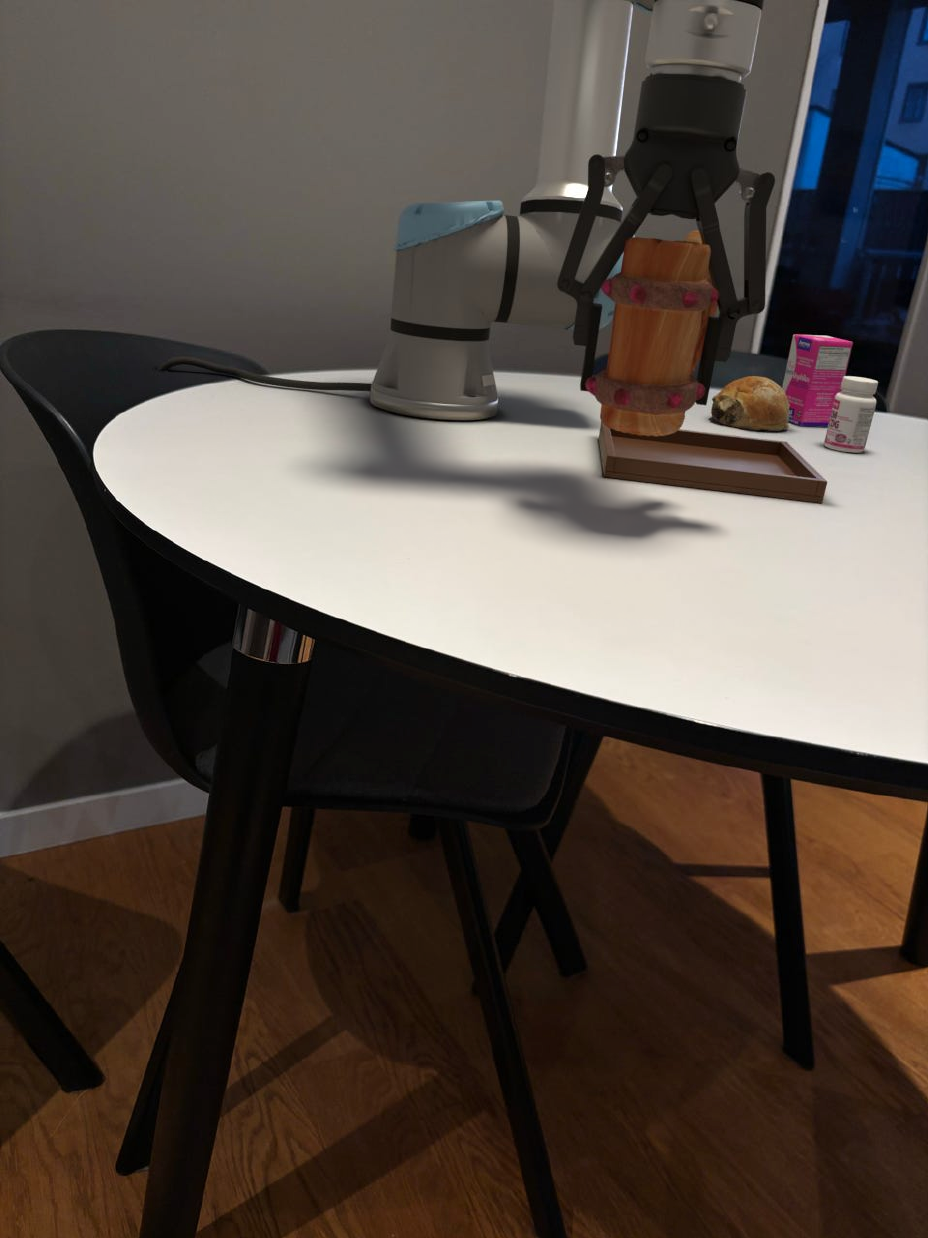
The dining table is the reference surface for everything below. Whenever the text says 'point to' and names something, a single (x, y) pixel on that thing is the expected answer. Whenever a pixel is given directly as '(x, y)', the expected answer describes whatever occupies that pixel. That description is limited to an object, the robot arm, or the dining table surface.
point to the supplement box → (814, 377)
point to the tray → (711, 463)
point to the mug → (655, 335)
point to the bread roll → (752, 405)
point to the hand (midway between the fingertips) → (641, 394)
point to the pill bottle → (851, 415)
